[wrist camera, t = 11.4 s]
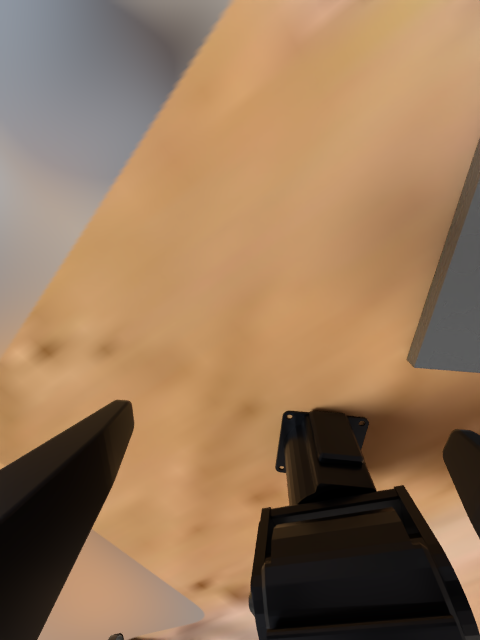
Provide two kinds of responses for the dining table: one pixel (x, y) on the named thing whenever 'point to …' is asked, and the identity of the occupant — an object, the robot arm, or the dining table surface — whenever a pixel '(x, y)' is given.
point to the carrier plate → (454, 292)
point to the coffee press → (116, 637)
